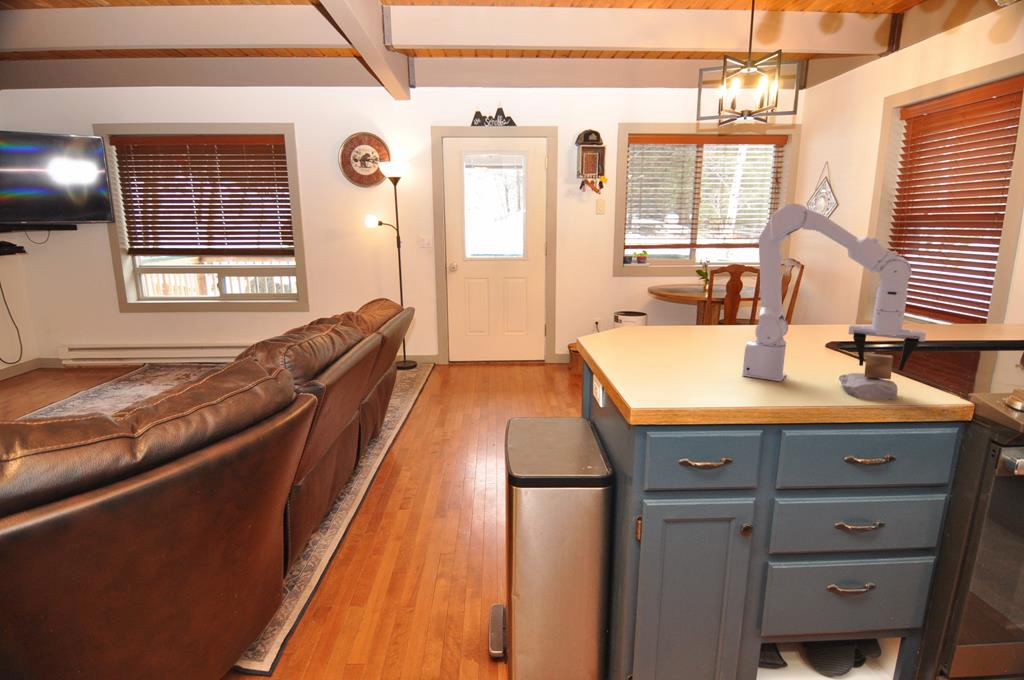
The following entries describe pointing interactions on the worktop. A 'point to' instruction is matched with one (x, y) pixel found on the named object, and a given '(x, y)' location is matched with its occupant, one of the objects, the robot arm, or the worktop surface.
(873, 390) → the stone block
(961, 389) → the worktop surface
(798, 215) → the robot arm
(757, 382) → the worktop surface
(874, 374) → the walnut cube
